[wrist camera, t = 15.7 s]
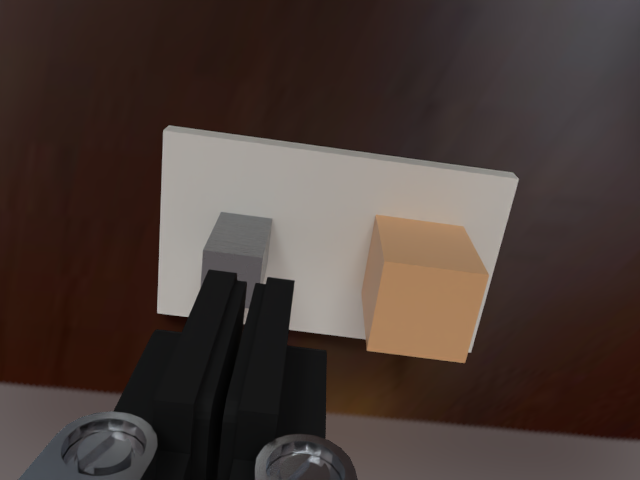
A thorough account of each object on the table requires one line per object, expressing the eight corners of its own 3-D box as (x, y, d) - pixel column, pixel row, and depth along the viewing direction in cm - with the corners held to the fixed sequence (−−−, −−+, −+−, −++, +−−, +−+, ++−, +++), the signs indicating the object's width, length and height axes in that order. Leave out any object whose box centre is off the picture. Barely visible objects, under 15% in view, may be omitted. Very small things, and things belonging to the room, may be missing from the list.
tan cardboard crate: (375, 214, 42) (384, 261, 35) (463, 226, 43) (489, 274, 36) (361, 292, 45) (366, 350, 38) (444, 303, 45) (464, 363, 38)
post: (224, 204, 44) (202, 250, 37) (274, 211, 44) (262, 257, 37) (221, 249, 45) (199, 302, 38) (269, 255, 45) (257, 309, 38)
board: (168, 125, 42) (163, 130, 40) (512, 172, 43) (519, 179, 41) (162, 303, 47) (157, 313, 46) (466, 341, 48) (470, 352, 47)
